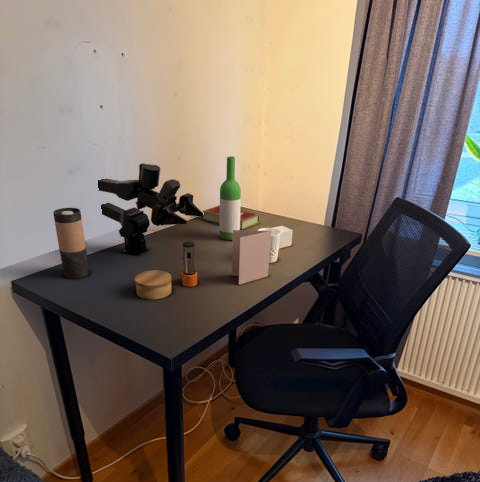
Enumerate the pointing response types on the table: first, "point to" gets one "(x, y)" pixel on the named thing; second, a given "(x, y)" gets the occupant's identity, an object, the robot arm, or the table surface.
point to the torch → (189, 265)
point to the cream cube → (285, 236)
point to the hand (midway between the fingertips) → (194, 218)
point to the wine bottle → (229, 202)
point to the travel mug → (71, 242)
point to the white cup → (273, 243)
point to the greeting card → (250, 254)
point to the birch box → (153, 284)
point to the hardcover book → (245, 217)
